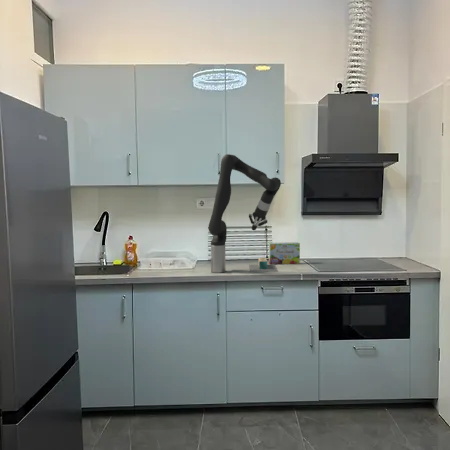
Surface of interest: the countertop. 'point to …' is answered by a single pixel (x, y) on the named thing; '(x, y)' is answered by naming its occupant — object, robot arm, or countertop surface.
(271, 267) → the charcoal mat
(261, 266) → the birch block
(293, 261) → the snack box
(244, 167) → the robot arm
